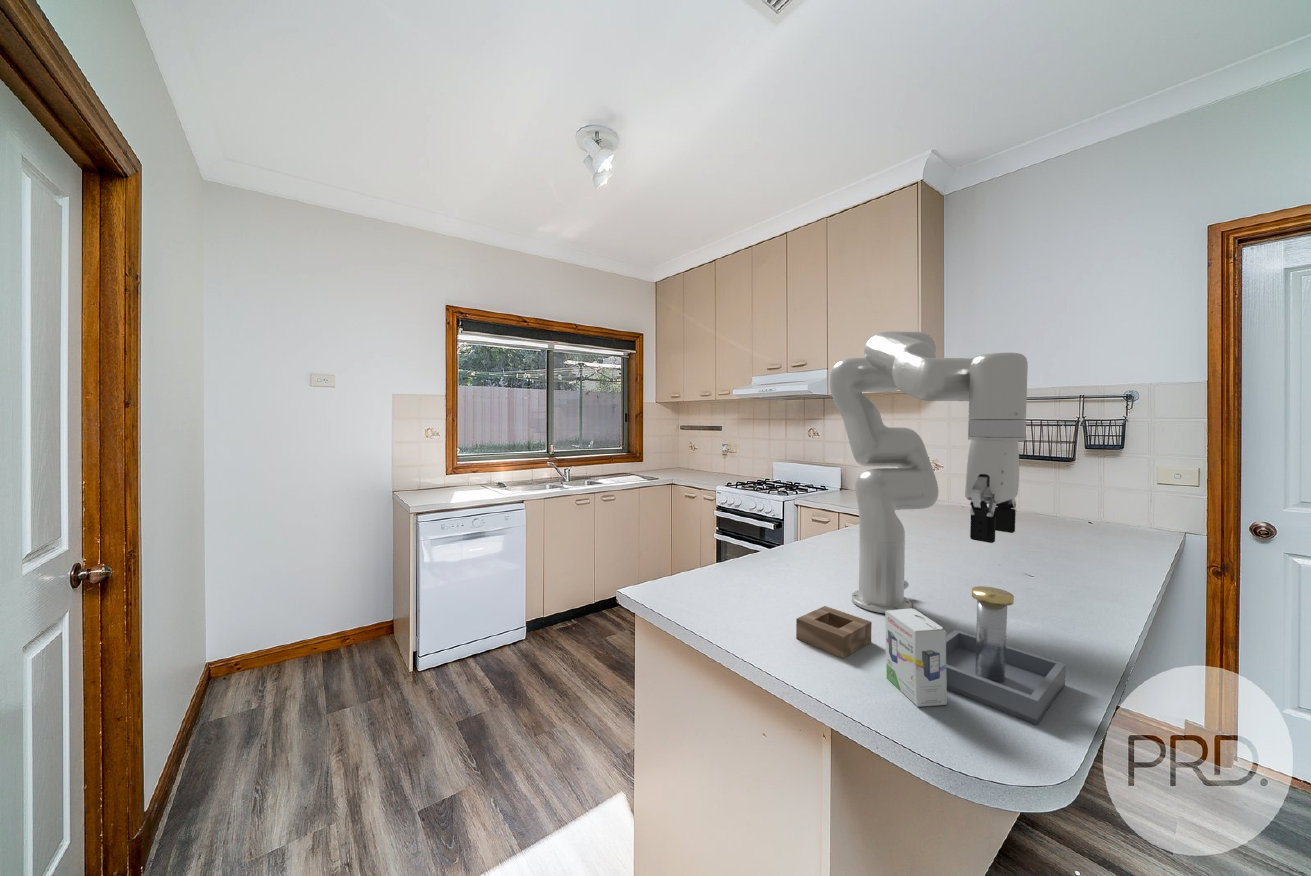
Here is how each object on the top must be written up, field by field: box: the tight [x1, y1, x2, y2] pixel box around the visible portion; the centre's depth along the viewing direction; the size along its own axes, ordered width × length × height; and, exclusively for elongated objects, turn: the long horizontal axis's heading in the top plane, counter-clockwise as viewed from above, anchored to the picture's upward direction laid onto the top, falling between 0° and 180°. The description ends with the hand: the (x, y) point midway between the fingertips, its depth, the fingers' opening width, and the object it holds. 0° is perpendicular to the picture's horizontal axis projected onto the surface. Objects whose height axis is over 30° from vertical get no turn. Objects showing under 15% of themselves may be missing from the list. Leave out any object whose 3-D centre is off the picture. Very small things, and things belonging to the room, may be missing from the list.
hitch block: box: [795, 605, 872, 659], centre depth 92 cm, size 10×10×4 cm
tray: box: [946, 629, 1067, 726], centre depth 78 cm, size 16×16×4 cm
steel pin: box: [971, 585, 1015, 683], centre depth 78 cm, size 6×6×14 cm
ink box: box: [884, 608, 948, 708], centre depth 75 cm, size 9×5×12 cm, turn 5°
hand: (993, 536), depth 77 cm, fingers open, 9 cm apart
